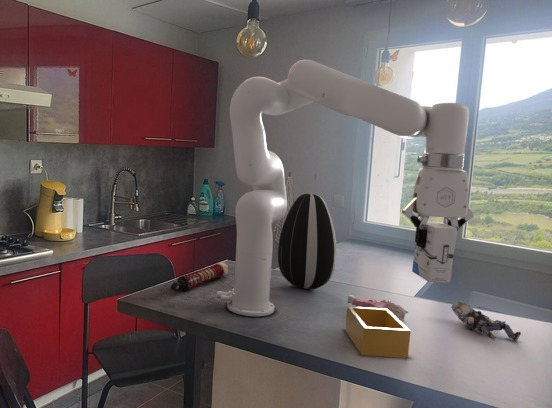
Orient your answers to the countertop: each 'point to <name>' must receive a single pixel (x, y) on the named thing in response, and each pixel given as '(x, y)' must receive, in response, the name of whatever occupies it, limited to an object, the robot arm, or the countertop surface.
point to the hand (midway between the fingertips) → (434, 246)
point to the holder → (377, 332)
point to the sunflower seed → (307, 243)
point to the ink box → (436, 253)
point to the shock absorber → (200, 277)
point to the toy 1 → (379, 306)
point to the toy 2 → (481, 321)
